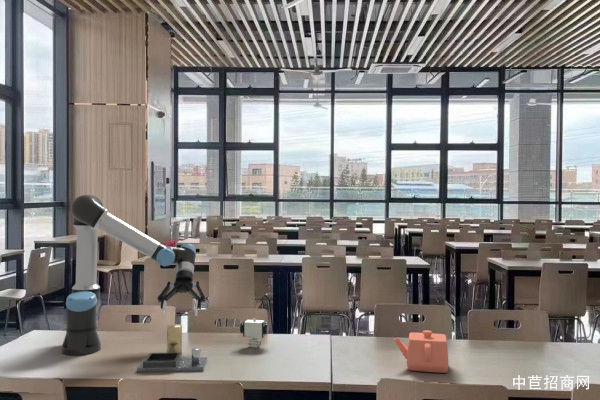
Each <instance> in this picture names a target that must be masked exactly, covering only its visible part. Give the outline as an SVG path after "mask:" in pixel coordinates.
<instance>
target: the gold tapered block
mask: <svg viewBox="0 0 600 400" xmlns="http://www.w3.org/2000/svg"><path fill="white" fill-rule="evenodd" d="M166 353H181V357H182V356H183V325H182V324H180V323H179V324H176V323H174V324H173V323H172V324H168V325H167V326H166Z"/></svg>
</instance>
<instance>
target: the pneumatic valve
mask: <svg viewBox="0 0 600 400" xmlns="http://www.w3.org/2000/svg"><path fill="white" fill-rule="evenodd" d="M239 332H240V334H242V337H245V338H247V337H248V338H250V339H248V340H247V346H248V347H249V348H255V349H256V348H259V347H260V346H261V345H262V340H261V339H260V338H265V337H266V336H267V335H269V332H270V325H269V324H268V323H267V320H262V319H261V320H260V319H256V318H253V319H245V320H244V321H242V322H241V323H240V326H239Z"/></svg>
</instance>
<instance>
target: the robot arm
mask: <svg viewBox="0 0 600 400" xmlns="http://www.w3.org/2000/svg"><path fill="white" fill-rule="evenodd" d="M70 213H71V215H72V217H73V222H72V225H73V227H74V228H75V229H76V250H75V251H76V255H75V257H76V259H75V261H76V262H75V264H76V265H75V283H74V285H73V286H72V287H71V293H70V294H68V296H67V297H66V302H65V306H66V307H65V309H66V312H65V315H66V317H65V318H66V320H65V323H66V326H65V327H66V329H65V330H66V332H65V333H66V334H65V336H64V338H63V342H62V345H61V353H62V354H63V355H69V356H79V355H81V356H82V355H88V354H93V353H96V352H98V351H100V350H101V349H102V348H101V346H102V344H101V342H102V341H101V340H100V336H99V334H98V330H97V314H98V312H99V310H100V309H101V306H102V299H101V286H100V285H99V284H98V283H97V281H98V279H97V278H98V277H97V276H98V274H97V273H98V239H99V238H98V234H99V232H98V231H99V230H101V231H102V232H105V233H107V234H109V236H112V237H113V238H115V239H117V240H119V241H120V242H122V243H124V244H126V245H127V246H129V247H130V248H132V249H135V250H136V251H138V252H139V253H142V254H143V255H145V256H146V257H148V258H150V259H151V260H153V261H155V262H156V263H158V264H159V265H160V266H162V267H168V266H171V265H172V264H176V265H177V268H176V273H175V279H174V280H175V281H174V282H171V281H168V282H167V284H166V285H165V287H164V289H162V291H161V293H160V294H159V295H158V296H157V302H158V303H160V309H161V310H162V311H161V315H162V317H163V318H165V316H166V310H167V309H166V308H167V302H168V301H170V300H171V298H173V296H175V295H177V294H178V293H179V294H181V293H184V294H186V293H188V294H190V295H191V297H193V298H194V300H195V305H194V306H195V307H194V316H195V317H198V313H199V311H198V310H200V309H201V308H202V307H201V305H202V303H205V302H206V297H205V294H204V293H203V290H202V288H201V286H200V282H199V281H195V282H194V281H193V280H194V272H195V262H196V257H197V255H196V251H197V250H196V247H195V246H194V245H193V244H191V243H184V244H181V245H180V247H178V246H177V247H176V246H175V247H174V246H170V245H165V244H163V243H160V242H159V241H157V240H156V239H154V238H153V237H150V236H149V235H147V234H146V233H143V232H142V231H140V230H139V229H136V227H133V226H132V225H130V224H128V222H127V223H126V222H125V221H123V220H122V219H120V218H119V217H116V216H115V215H113V214H111V212H109V210H108V208H107V207H104V205H103V203H102V201H101V199H99V197H97V196H95V195H91V194H82V195H79V196H77V197H75V198H74V200H72V202H71V205H70ZM193 287H194V288H195V289H196V290H197V293H198V294H199V295H198V294H197V293H196V291H195V290H194V289H193Z"/></svg>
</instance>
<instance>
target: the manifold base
mask: <svg viewBox="0 0 600 400" xmlns="http://www.w3.org/2000/svg"><path fill="white" fill-rule="evenodd" d="M207 363H208V356H207V357H205V356H203V357H201V348H200V347H193V348H191V357H182V356H181V353H167V352H151V353H148V355H147V356H146V357H145V358H144V359H142V361H141V362H140V363H139V365H138V366H137V367H136V373H162V372H169V373H170V372H172V373H173V372H174V373H175V372H204V370H205V368H206V365H207Z"/></svg>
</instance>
